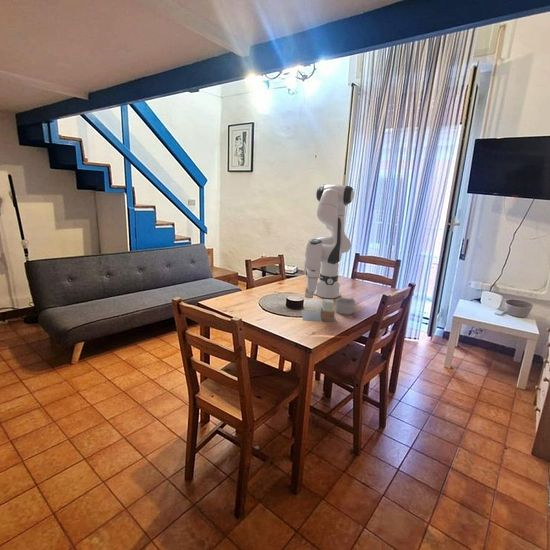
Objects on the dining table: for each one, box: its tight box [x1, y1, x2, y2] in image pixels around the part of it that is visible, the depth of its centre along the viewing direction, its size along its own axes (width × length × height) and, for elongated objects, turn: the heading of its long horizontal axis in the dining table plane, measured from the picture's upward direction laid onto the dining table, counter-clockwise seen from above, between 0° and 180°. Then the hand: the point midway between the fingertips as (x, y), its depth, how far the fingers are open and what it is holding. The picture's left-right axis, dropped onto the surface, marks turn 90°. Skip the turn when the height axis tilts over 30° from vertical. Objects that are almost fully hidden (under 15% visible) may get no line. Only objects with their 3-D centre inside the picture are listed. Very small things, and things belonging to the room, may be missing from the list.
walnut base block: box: [320, 307, 335, 321], centre depth 173 cm, size 6×6×5 cm
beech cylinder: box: [304, 286, 314, 299], centre depth 178 cm, size 4×4×5 cm
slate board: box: [300, 310, 338, 323], centre depth 177 cm, size 14×18×1 cm
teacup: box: [335, 297, 356, 316], centre depth 186 cm, size 14×11×8 cm
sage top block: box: [321, 298, 335, 312], centre depth 172 cm, size 5×5×5 cm
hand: (309, 294), depth 179 cm, fingers closed on beech cylinder, 4 cm apart
